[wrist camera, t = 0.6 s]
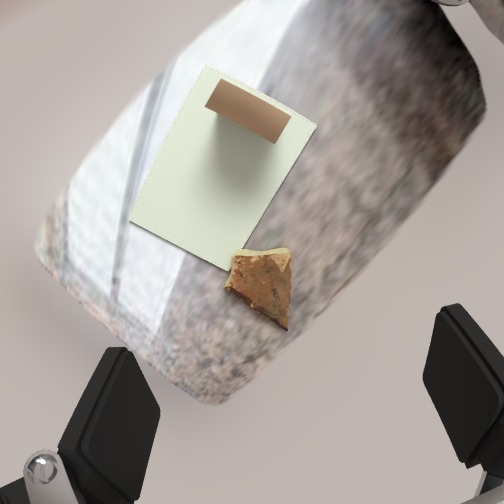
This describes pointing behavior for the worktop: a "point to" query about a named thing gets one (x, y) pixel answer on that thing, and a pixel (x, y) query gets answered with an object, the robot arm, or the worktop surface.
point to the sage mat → (215, 175)
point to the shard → (263, 282)
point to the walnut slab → (248, 111)
